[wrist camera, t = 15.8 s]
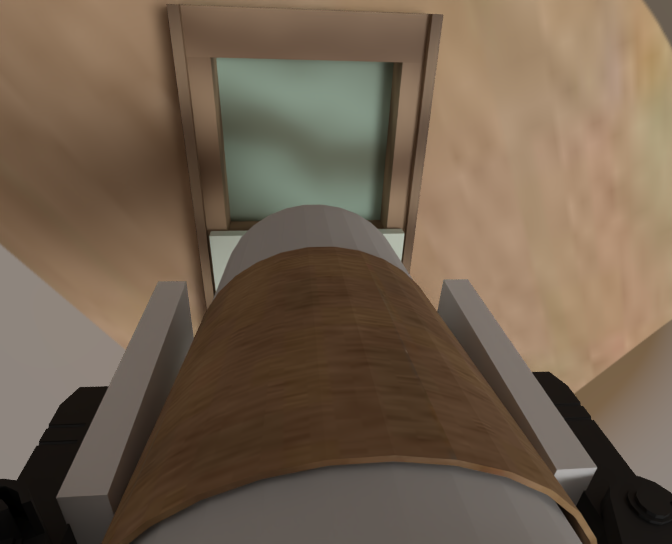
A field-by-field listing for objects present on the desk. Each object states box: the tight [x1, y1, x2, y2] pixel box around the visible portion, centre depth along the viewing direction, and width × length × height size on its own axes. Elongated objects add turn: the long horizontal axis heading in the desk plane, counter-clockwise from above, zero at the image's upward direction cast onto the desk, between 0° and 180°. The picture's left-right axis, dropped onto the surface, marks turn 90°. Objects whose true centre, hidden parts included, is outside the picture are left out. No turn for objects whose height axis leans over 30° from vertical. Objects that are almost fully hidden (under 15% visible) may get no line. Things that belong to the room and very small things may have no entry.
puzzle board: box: [167, 4, 443, 309], centre depth 32 cm, size 26×15×4 cm, turn 178°
